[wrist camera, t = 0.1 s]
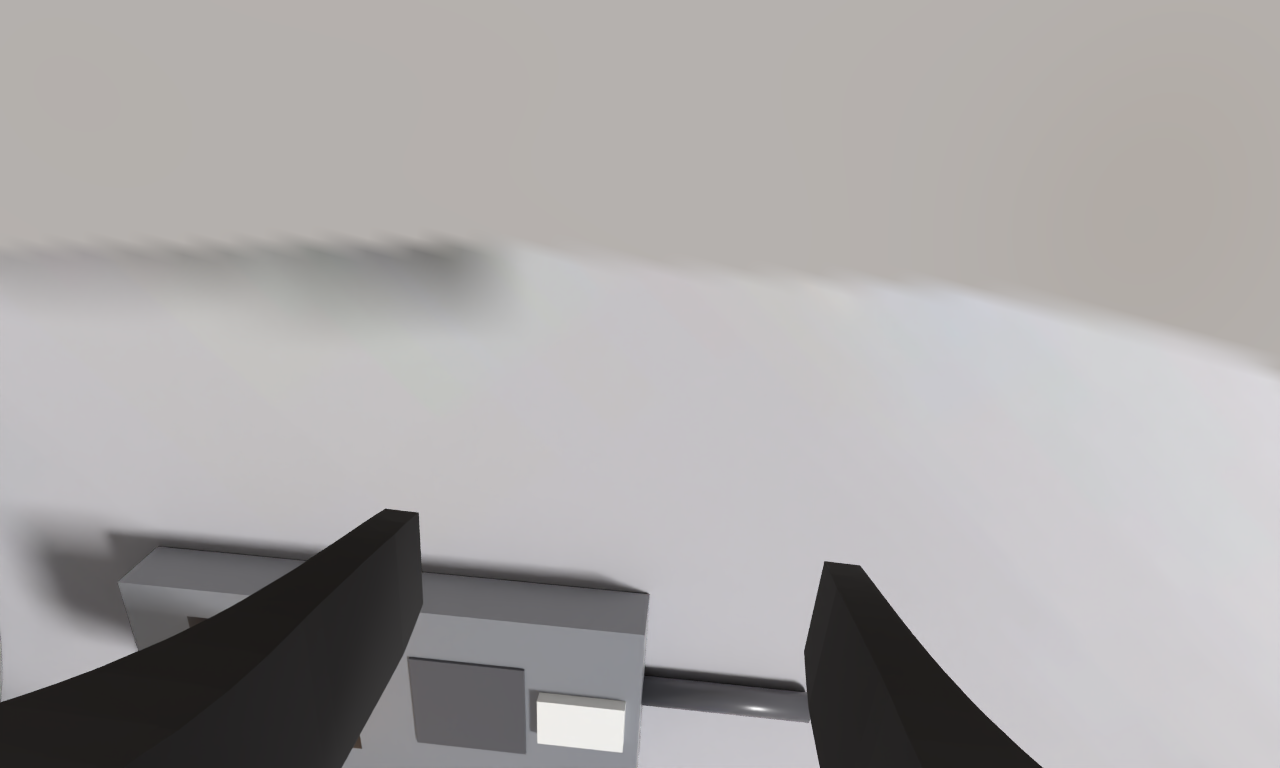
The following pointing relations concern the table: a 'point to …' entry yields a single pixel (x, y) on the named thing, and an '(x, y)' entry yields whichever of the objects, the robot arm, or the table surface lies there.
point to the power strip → (477, 666)
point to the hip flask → (0, 669)
